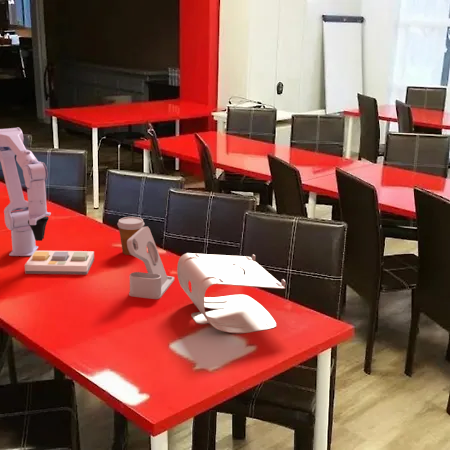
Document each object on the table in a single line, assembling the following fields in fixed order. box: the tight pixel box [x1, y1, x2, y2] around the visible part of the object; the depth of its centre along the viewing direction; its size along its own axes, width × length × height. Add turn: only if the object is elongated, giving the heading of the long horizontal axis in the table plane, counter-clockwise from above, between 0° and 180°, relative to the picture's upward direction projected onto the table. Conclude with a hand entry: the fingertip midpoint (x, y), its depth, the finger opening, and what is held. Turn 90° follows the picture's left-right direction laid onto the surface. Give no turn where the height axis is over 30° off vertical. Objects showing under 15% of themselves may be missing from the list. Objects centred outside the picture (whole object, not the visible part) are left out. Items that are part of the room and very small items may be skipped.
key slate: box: [52, 252, 68, 261], centre depth 216 cm, size 4×4×2 cm
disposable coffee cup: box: [117, 216, 145, 256], centre depth 231 cm, size 10×10×12 cm
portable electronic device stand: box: [176, 252, 286, 334], centre depth 182 cm, size 26×24×16 cm
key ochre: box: [32, 250, 49, 261], centre depth 216 cm, size 4×4×2 cm
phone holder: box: [127, 226, 175, 300], centre depth 200 cm, size 17×10×18 cm, turn 168°
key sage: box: [72, 252, 88, 261], centre depth 217 cm, size 4×4×2 cm
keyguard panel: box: [24, 250, 95, 275], centre depth 217 cm, size 14×20×3 cm
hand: (39, 239), depth 214 cm, fingers closed
